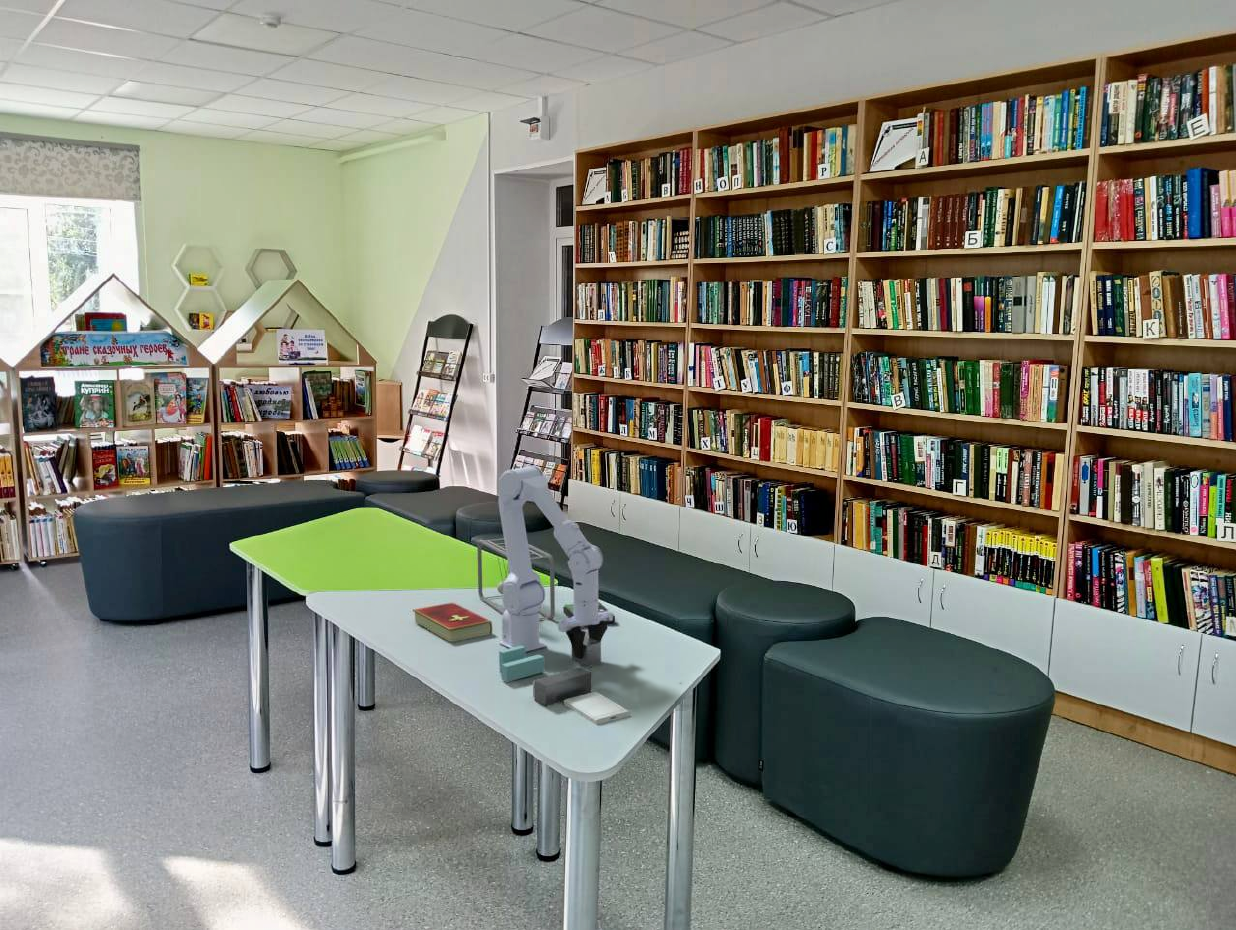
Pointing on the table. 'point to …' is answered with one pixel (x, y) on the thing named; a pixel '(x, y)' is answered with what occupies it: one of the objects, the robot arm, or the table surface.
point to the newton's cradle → (500, 585)
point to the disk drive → (569, 612)
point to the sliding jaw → (519, 664)
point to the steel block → (589, 652)
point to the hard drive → (596, 708)
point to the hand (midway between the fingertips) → (586, 655)
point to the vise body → (562, 686)
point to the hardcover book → (452, 622)
